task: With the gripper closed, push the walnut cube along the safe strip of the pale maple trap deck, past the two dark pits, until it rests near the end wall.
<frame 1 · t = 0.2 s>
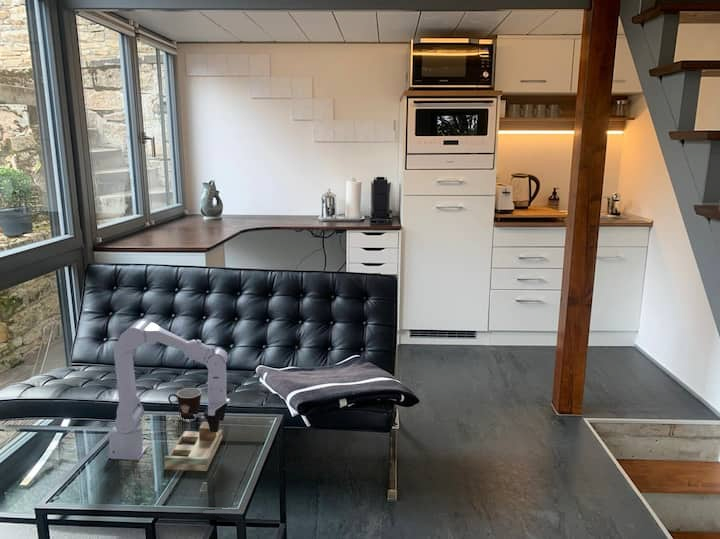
hand: (217, 425, 175), 10 cm above the table, fingers open, 7 cm apart
coffee mug: (186, 417, 200), on the table
walnut block: (207, 437, 183), point 2 cm above the table, touching trap deck
trap deck: (194, 452, 177), on the table
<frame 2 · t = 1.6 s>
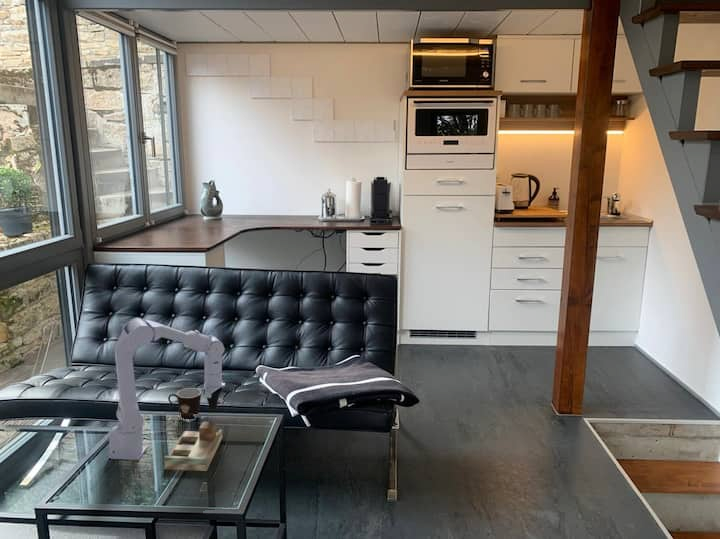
hand: (213, 408, 188), 9 cm above the table, fingers closed
nothing on the table moved.
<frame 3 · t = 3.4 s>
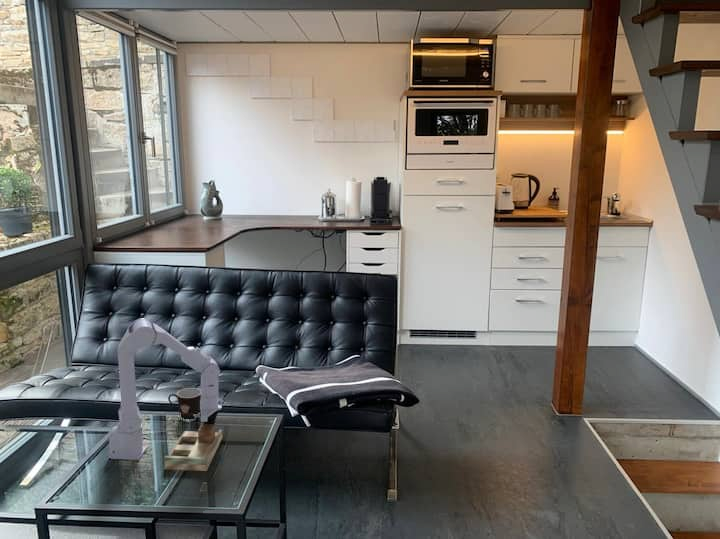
hand: (209, 431, 185), 3 cm above the table, fingers closed
walnut block: (206, 439, 182), point 2 cm above the table, touching gripper, trap deck
everything else where it was.
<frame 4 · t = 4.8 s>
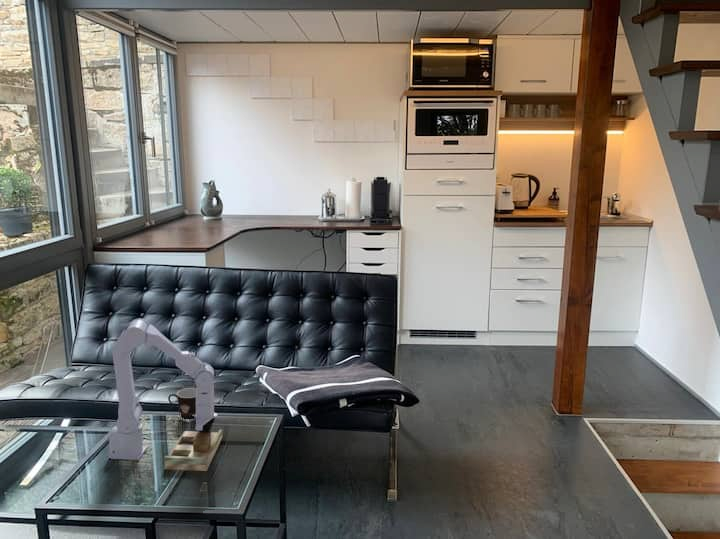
hand: (205, 439, 179), 3 cm above the table, fingers closed
walnut block: (202, 448, 176), point 2 cm above the table, touching gripper, trap deck
everything else where it was.
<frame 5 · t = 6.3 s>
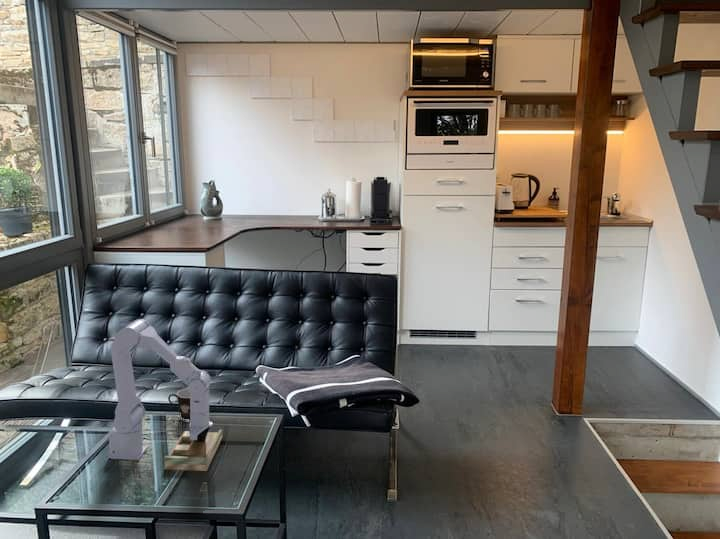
hand: (200, 449, 174), 3 cm above the table, fingers closed
walnut block: (197, 458, 170), point 2 cm above the table, touching gripper, trap deck
everything else where it was.
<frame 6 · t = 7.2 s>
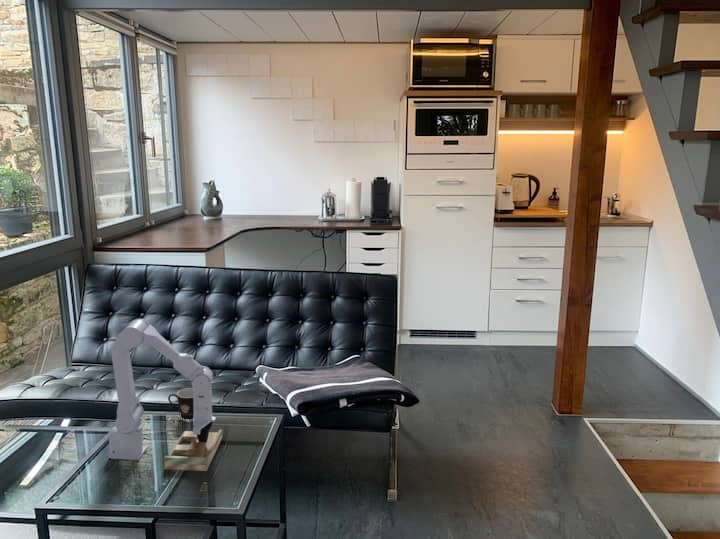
hand: (203, 443, 177), 3 cm above the table, fingers closed
walnut block: (197, 458, 170), point 2 cm above the table, touching trap deck
everything else where it was.
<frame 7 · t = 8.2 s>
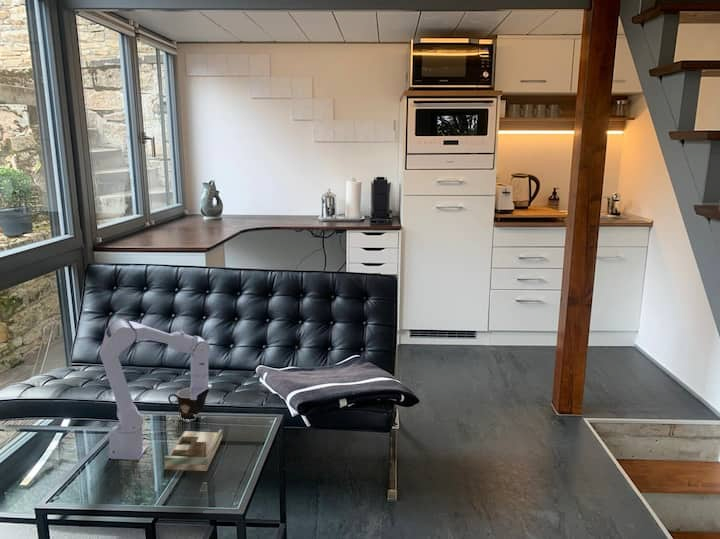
hand: (199, 410, 185), 10 cm above the table, fingers closed
nothing on the table moved.
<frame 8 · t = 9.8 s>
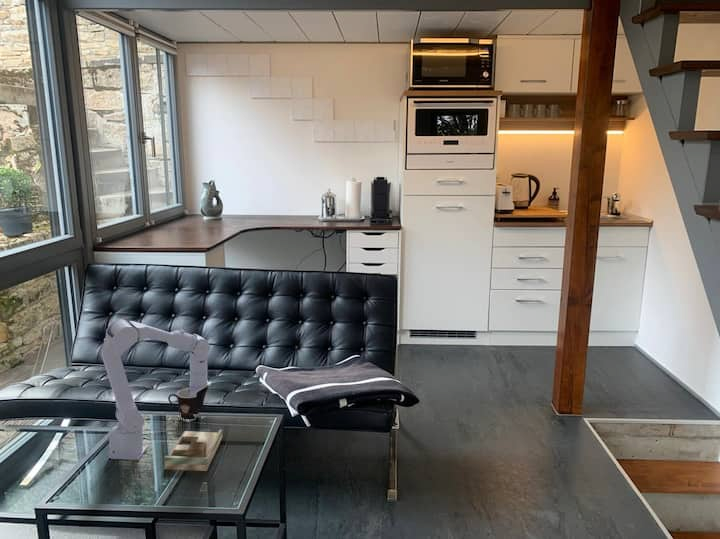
hand: (198, 407, 187), 10 cm above the table, fingers closed
nothing on the table moved.
at the end: walnut block 0.5 cm from the target spot, point 2.0 cm above the table; walnut block tilted 0° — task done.
